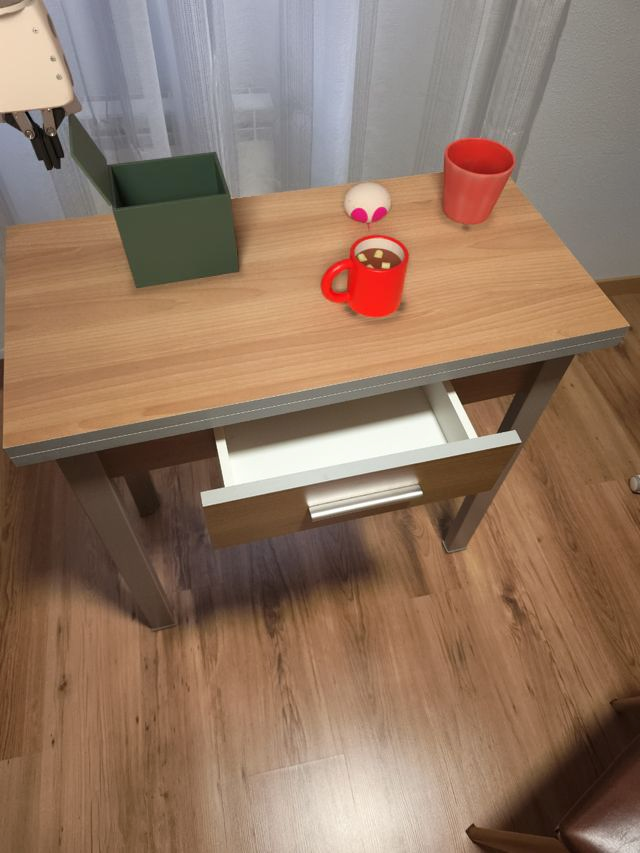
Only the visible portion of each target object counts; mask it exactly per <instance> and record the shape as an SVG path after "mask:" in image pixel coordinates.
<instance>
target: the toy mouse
mask: <svg viewBox="0 0 640 853" xmlns="http://www.w3.org/2000/svg"><path fill="white" fill-rule="evenodd" d="M391 207H392V197H391V194H390V192H389V191H388V189H387V188H386V187H384V186H383V185H382V184H381V183H377V182H373V181H364V182H360V183H357V184H356V185H353V186H352V187H351V188H350V189H349V190H348V191H347V192H346V193H345V196H344V199H343V208H344V210H345V213H346V214H347V216H348V217H350V218H351V219H352V220H354V221H356V222H359V223H363V224H367V228H368V231H369V232H370V231H371V230H370V223H375V222H377V221H380V220H381V219H383V218H384V217H385V216H387V214H388V213H389V211H390V209H391Z"/></svg>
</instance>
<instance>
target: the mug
mask: <svg viewBox="0 0 640 853" xmlns="http://www.w3.org/2000/svg"><path fill="white" fill-rule="evenodd" d="M348 256H349V257H345V258H342V259H340V260H338V261H336V262H334V263H332V265H330V266H329V267H328V268H327V270H326V271H325V272H324V274H323V275H322V278H321V281H320V292H321V294H322V296H323V297H324V298H325V299H326V300H327V301H329V302H330V303H335V304H342V303H347V304H348V306H349V307H350V308H351V309H352V310H353V311H354V312H356V313H357V314H359V315H362V316H364V317H370V318H381V317H386V316H389V315H391V314H393V313H395V312H396V311H397V310H398V309H399V307H400V305H401V302H402V297H403V291H404V287H405V280H406V276H407V270H408V264H409V259H410V253H409V249H408V248H407V247H406V245H405V244H404V243H403V242H401V241H400V240H398V239H397V238H394V237H391V236H388V235H383V234H370V235H366V236H362V237H360V238H358V239H356V240H355V241H354V242H353V243H352V245H351V246H350V249H349V255H348ZM346 270H347V280H346V281H347V282H346V291H343V292H337V291H334V290H333V288H332V284H333V281H334V280H335V278H336V277H337V276H338V275H339V274H340V273H342V272H343V271H346Z"/></svg>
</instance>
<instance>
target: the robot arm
mask: <svg viewBox="0 0 640 853" xmlns="http://www.w3.org/2000/svg"><path fill="white" fill-rule="evenodd" d="M74 84H75V83H74V79H73V75H72V72H71V69H70V65H69V63H68V59H67V57H66V54H65V51H64V48H63V45H62V43H61V40H60V37H59V35H58V32H57V30H56V27H55V25H54V21H53V20H52V18H51V15H50V13H49V11H48V8H47V7H46V5H45V2H44V0H0V124H7V125H9V126H10V127H13V128H14V129H16V130H17V131H19V132H20V133H22V134H23V136H24V137H25V138H26V139H28V140H29V141H30V143H31V146H32V149H33V151H34V154H35V156H36V160H38V161H39V162H42V161H43V163H44V166H45V169H46V171H53V169H55V170H61V169H62V162H61V159H64V158H65V152H64V149H63V148H64V147H63V146H62V143H61V141H60V137H59V134H58V132H57V131H58V129H59V127H60V126H61V124H62V122H63V121H64V119H65V117H68V116H70V115H72V114H77V113H80V112H82V111H83V102H82V100H81V98H80V96H79V94H78V93H77V91H76V89H75V88H74ZM32 111H40V115H41V118H42V119H41V120H42V127H41V126H40V125H39V123H37V122H36V121H35V119H34V117H33V115H32V113H31V112H32Z"/></svg>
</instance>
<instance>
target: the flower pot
mask: <svg viewBox="0 0 640 853" xmlns="http://www.w3.org/2000/svg"><path fill="white" fill-rule="evenodd" d="M515 167H516V157H515V154H514V153H513V152H512V150H511V149H510V148H509V147H507V146H506V145H504V144H502V143H500V142H499V141H496V140H493V139H489V138H484V137H464V138H459V139H456V140H453V141H452V142H450V143H449V144H448V145H447V146H446V147H445V149H444V153H443V170H442V171H443V172H442V174H443V176H442V211H443V213H444V215H445V216H446V217H447V218H449V219H450V220H452V221H453V222H455V223H461V224H463V225H471V226H472V225H478V224H482V223H484V222H485V221H487V220H488V218H489V217H490V216H491V213H492V211H493V210H494V208H495V206H496V204H497V202H498V200H499V199H500V197H501V195H502V194H503V191H504V189H505V187H506V185H507V183H508V181H509V179H510V177H511V175H512V173H513V171H514V169H515Z"/></svg>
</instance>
